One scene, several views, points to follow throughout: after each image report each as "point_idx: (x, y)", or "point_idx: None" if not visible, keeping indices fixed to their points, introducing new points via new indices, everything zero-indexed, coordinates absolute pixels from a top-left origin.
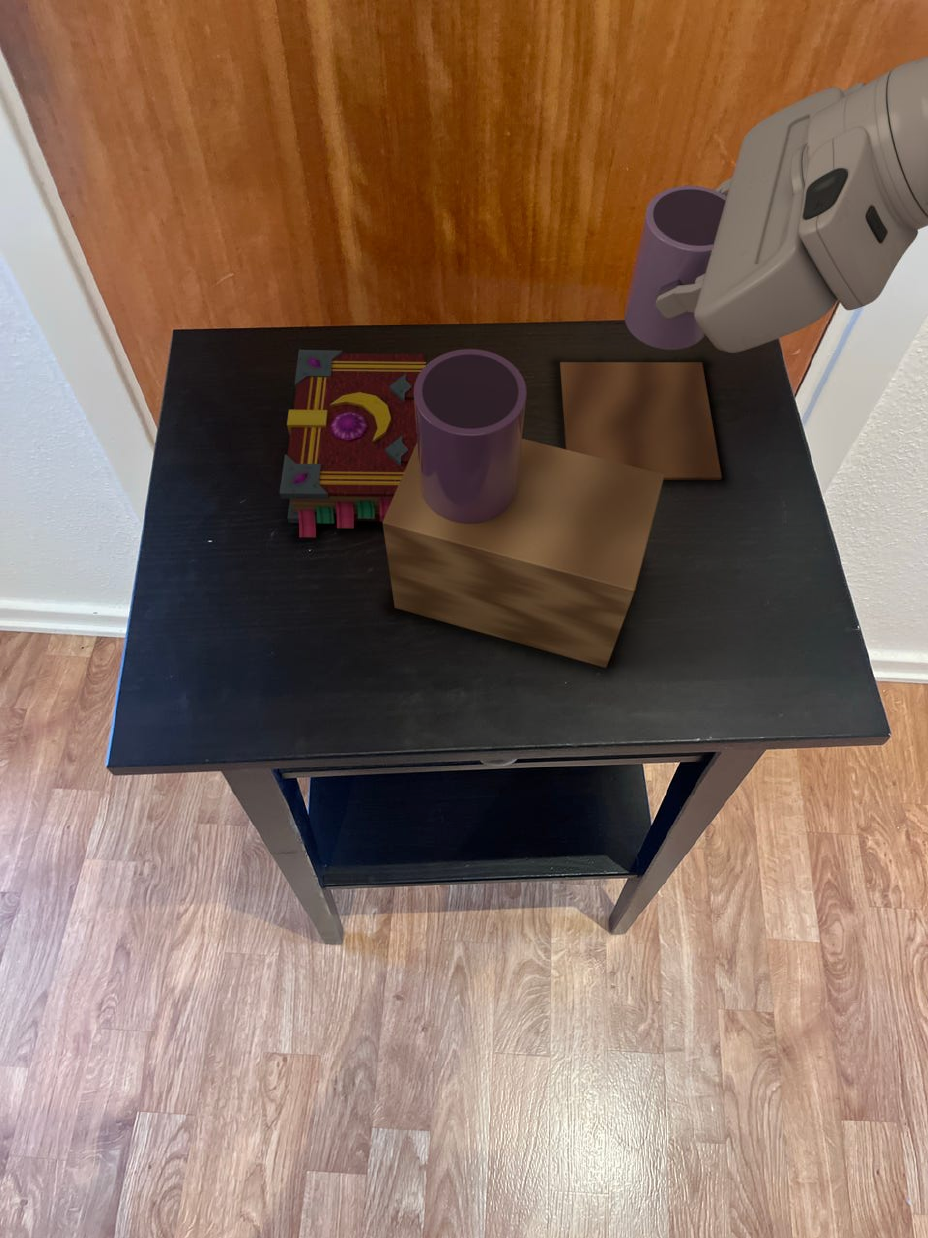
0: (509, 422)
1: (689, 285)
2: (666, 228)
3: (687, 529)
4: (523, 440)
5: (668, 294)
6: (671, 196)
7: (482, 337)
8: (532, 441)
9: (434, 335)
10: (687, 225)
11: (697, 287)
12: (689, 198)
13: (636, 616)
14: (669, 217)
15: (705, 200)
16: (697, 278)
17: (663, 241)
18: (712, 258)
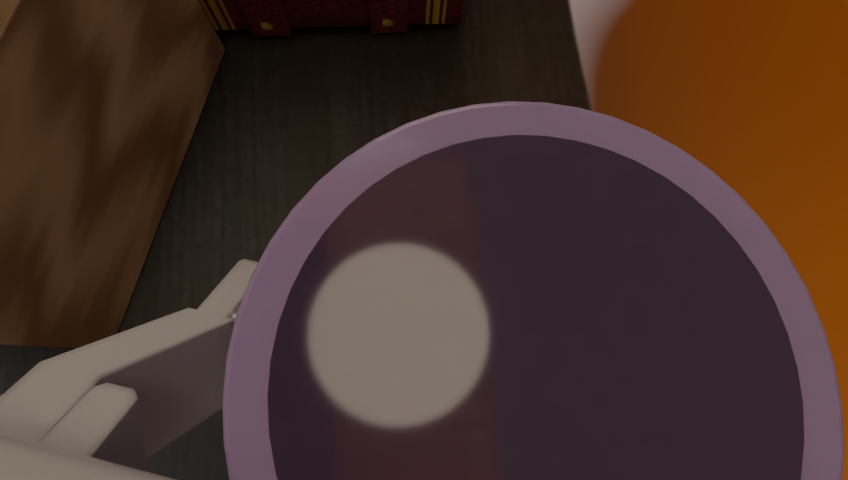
0: None
1: (124, 358)
2: (412, 203)
3: (180, 449)
4: (8, 8)
5: (215, 289)
6: (698, 242)
7: (579, 102)
8: (4, 27)
9: (572, 32)
10: (447, 330)
11: (32, 390)
12: (702, 354)
13: (12, 353)
14: (511, 224)
15: (703, 464)
16: (127, 397)
17: (314, 188)
18: (29, 478)
